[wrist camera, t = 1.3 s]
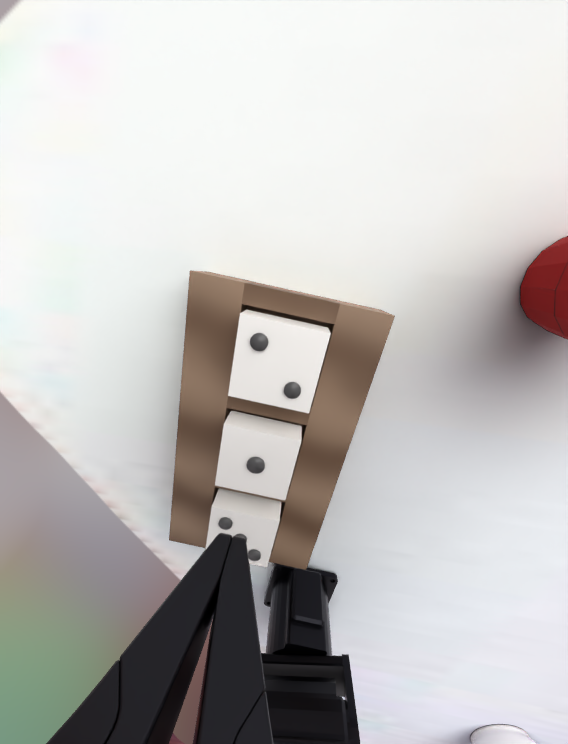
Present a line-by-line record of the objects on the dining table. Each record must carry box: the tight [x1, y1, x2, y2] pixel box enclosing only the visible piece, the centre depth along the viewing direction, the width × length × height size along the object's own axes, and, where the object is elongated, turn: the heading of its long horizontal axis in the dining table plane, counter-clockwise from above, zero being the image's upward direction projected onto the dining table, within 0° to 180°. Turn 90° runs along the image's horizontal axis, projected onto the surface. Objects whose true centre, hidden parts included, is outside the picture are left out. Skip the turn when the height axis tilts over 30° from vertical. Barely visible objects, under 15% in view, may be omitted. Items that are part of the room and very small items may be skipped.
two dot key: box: [228, 310, 331, 413], centre depth 16 cm, size 5×5×2 cm
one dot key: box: [215, 411, 302, 500], centre depth 18 cm, size 5×5×2 cm
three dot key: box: [205, 488, 281, 568], centre depth 21 cm, size 5×5×2 cm
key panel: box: [169, 271, 395, 570], centre depth 20 cm, size 22×12×3 cm, turn 168°
